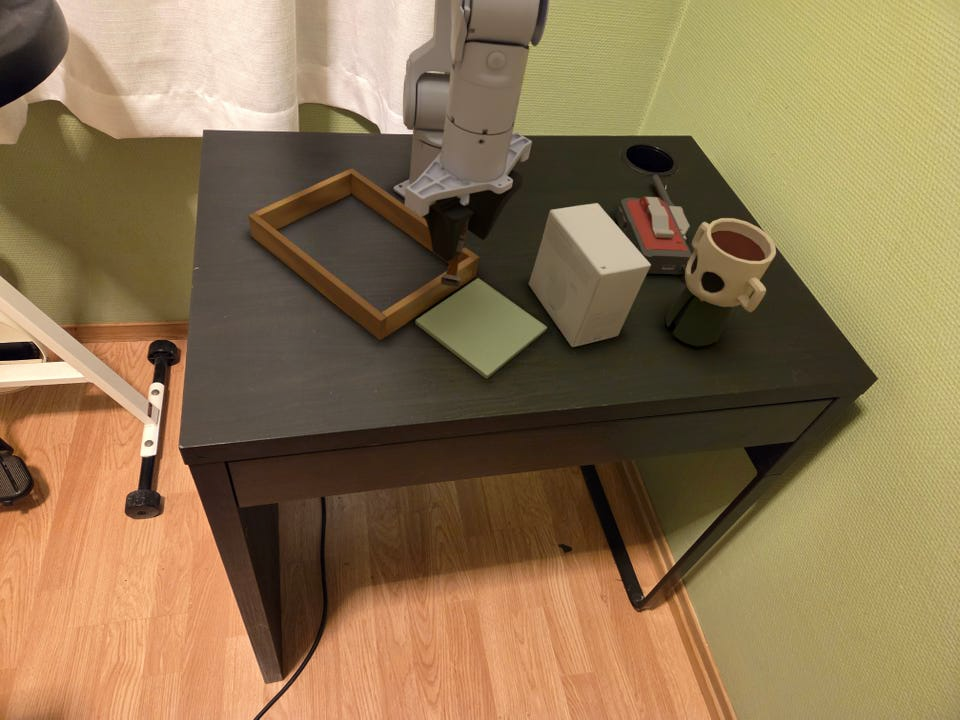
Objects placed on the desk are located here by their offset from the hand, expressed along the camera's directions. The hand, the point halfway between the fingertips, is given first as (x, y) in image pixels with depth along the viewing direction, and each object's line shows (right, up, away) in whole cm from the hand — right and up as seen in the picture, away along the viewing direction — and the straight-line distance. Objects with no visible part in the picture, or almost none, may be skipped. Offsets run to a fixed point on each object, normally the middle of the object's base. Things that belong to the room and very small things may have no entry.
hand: (460, 244), depth 65 cm
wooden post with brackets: (-1, -2, +1) cm, 2 cm away
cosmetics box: (+12, -6, +10) cm, 17 cm away
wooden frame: (-11, 0, +10) cm, 15 cm away
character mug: (+26, -8, +10) cm, 29 cm away
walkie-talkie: (+24, +6, +22) cm, 33 cm away
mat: (+2, -8, +6) cm, 10 cm away
